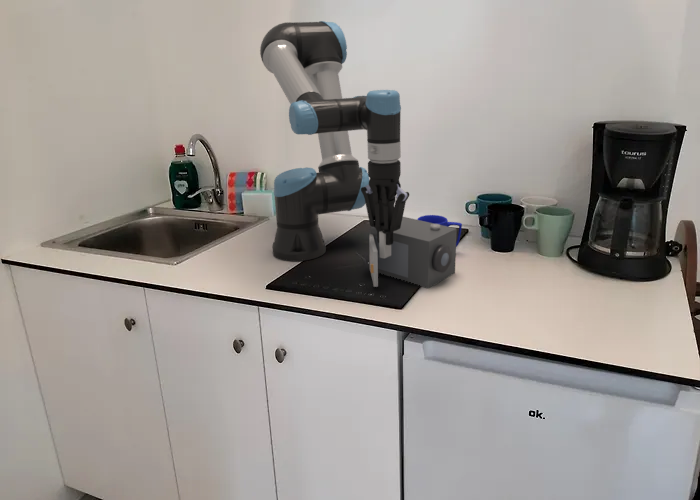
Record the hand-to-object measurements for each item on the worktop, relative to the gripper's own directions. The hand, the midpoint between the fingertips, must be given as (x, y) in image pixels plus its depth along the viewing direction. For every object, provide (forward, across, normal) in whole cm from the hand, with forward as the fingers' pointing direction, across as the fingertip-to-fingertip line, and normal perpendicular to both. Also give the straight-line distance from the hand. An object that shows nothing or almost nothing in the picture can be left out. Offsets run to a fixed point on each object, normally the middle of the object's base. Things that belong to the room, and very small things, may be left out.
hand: (385, 256), depth 139 cm
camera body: (+7, +1, +10) cm, 12 cm away
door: (+6, -3, -1) cm, 7 cm away
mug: (+7, -1, +25) cm, 26 cm away
